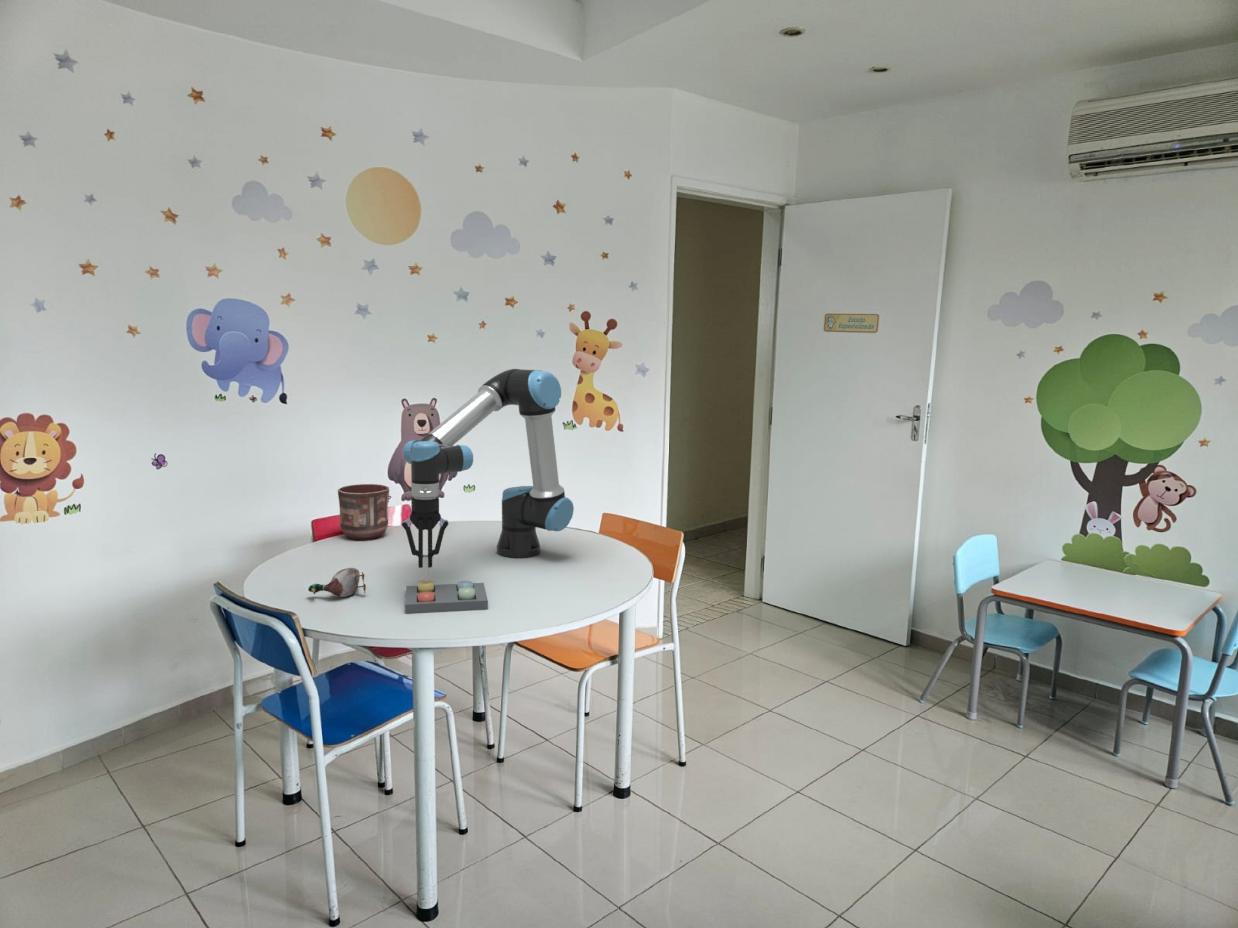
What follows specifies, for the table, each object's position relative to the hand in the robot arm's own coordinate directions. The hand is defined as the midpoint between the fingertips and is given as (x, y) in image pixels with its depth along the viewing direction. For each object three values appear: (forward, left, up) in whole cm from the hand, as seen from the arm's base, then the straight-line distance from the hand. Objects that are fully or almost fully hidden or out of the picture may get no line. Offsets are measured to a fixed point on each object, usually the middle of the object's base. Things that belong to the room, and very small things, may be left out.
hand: (425, 578), depth 222 cm
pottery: (+21, -72, -6) cm, 75 cm away
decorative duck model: (+24, -7, -6) cm, 26 cm away
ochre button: (0, 0, -5) cm, 5 cm away
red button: (0, +8, -5) cm, 10 cm away
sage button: (-11, +8, -5) cm, 14 cm away
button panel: (-6, +4, -6) cm, 9 cm away
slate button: (-11, 0, -5) cm, 12 cm away
